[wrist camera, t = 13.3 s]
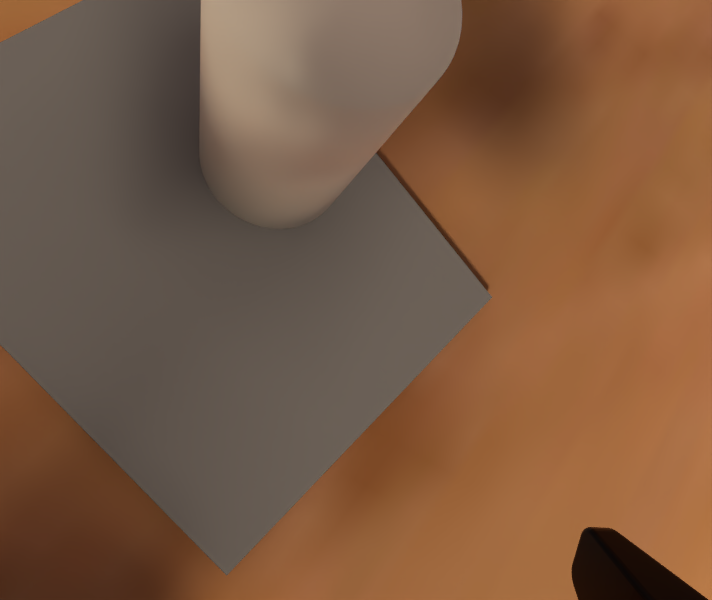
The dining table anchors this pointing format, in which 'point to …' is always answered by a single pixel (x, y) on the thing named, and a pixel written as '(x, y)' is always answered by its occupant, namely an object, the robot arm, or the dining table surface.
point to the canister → (310, 95)
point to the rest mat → (197, 280)
